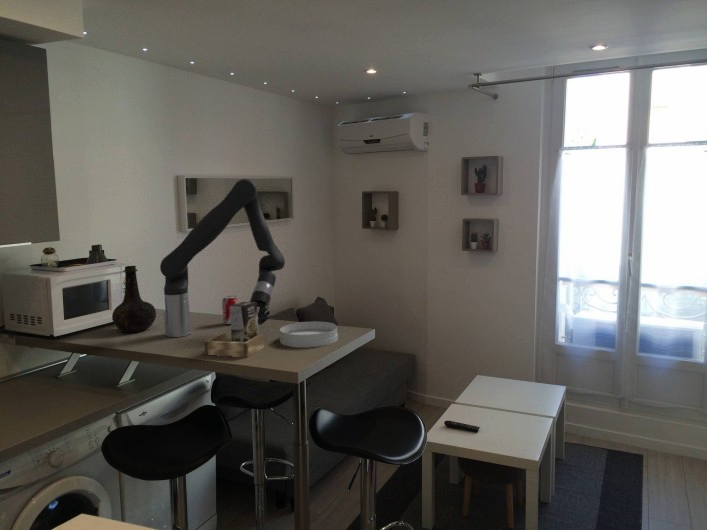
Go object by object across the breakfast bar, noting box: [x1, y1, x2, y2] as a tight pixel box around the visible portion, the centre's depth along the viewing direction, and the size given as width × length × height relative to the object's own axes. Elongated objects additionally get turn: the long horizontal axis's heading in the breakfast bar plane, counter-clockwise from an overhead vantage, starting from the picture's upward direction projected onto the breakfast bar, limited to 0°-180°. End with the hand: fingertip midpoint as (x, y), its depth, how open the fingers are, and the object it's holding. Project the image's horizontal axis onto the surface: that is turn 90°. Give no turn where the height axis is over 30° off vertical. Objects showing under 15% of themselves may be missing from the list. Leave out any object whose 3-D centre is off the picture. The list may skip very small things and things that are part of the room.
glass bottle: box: [111, 265, 157, 333], centre depth 239 cm, size 18×18×28 cm
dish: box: [279, 320, 339, 348], centre depth 213 cm, size 22×22×5 cm
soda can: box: [221, 295, 239, 325], centre depth 246 cm, size 7×7×12 cm
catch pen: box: [203, 332, 265, 358], centre depth 200 cm, size 16×13×5 cm
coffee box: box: [230, 301, 259, 342], centre depth 206 cm, size 9×6×16 cm
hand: (249, 333), depth 211 cm, fingers closed
